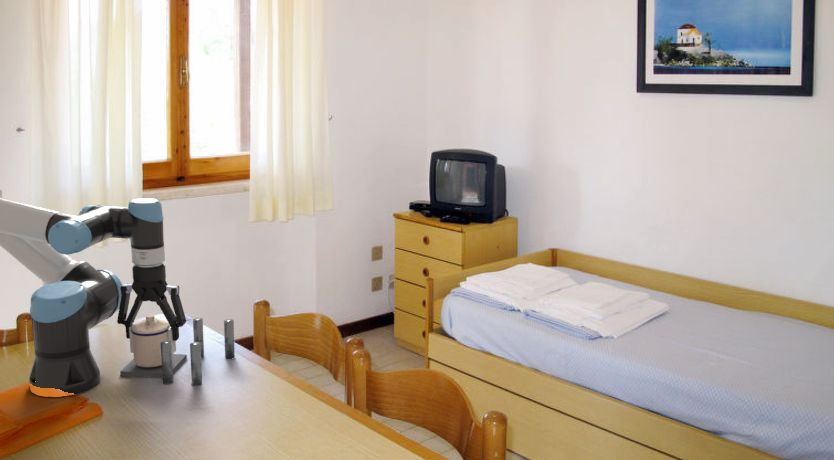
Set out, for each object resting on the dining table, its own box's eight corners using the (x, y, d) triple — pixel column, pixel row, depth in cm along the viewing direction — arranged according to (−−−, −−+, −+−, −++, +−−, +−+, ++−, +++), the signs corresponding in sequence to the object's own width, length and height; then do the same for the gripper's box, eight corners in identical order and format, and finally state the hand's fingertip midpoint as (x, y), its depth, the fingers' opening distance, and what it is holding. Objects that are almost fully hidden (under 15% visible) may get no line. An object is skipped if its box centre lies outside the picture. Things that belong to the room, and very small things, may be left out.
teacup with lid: (179, 360, 194) (177, 315, 191) (145, 371, 187) (142, 325, 184) (153, 348, 201) (150, 304, 199) (119, 358, 194) (116, 313, 192)
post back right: (223, 359, 200) (222, 322, 198) (226, 355, 203) (225, 318, 200) (233, 359, 200) (232, 322, 198) (235, 356, 203) (234, 319, 200)
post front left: (161, 384, 185) (158, 344, 183) (164, 379, 187) (162, 340, 185) (171, 384, 185) (169, 344, 183) (174, 380, 187) (172, 340, 185)
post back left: (193, 357, 201) (191, 320, 198) (196, 354, 203) (194, 317, 201) (202, 358, 201) (200, 321, 198) (205, 354, 203) (203, 317, 201)
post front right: (190, 385, 185) (188, 345, 182) (193, 381, 187) (192, 341, 185) (200, 386, 184) (198, 346, 182) (203, 381, 187) (202, 342, 184)
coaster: (120, 375, 189) (120, 371, 189) (140, 356, 201) (140, 352, 200) (169, 378, 188) (169, 373, 188) (186, 359, 200) (186, 354, 200)
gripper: (97, 265, 185) (103, 355, 190) (187, 269, 184) (191, 359, 189) (111, 257, 193) (117, 343, 198) (198, 261, 191) (201, 347, 196)
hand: (153, 351), depth 193 cm, fingers closed on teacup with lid, 9 cm apart
